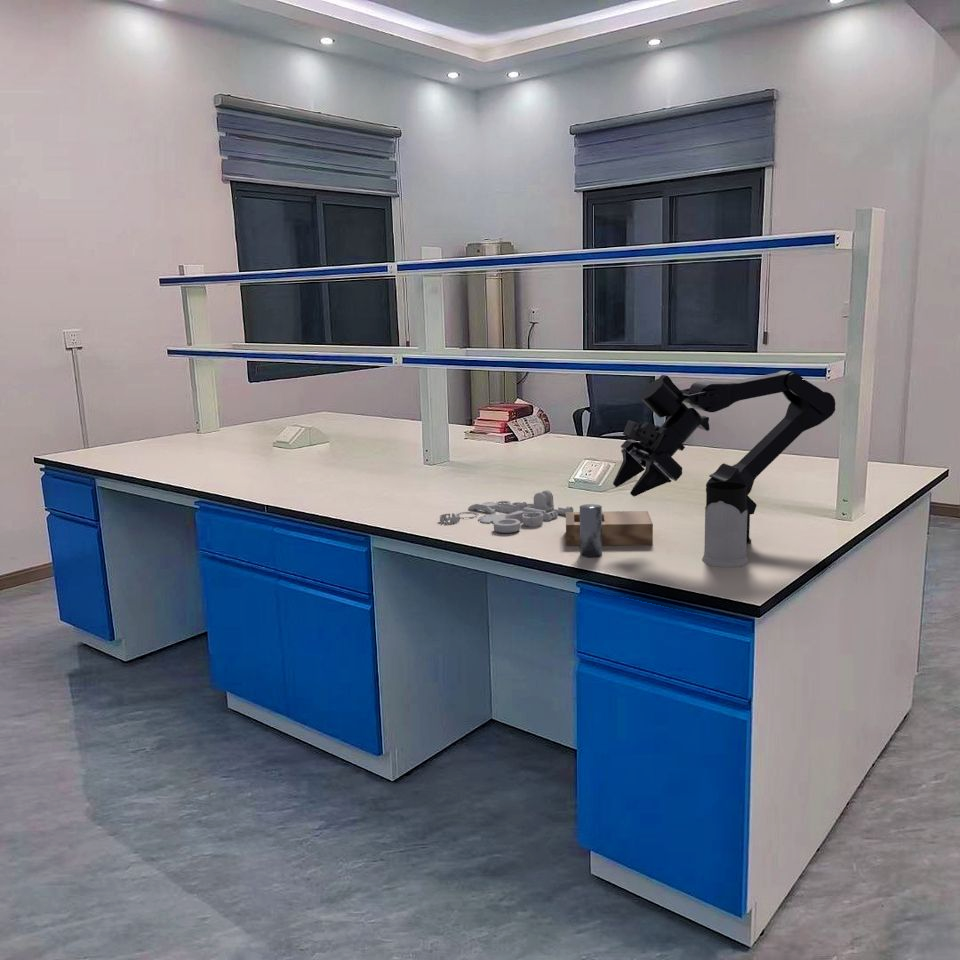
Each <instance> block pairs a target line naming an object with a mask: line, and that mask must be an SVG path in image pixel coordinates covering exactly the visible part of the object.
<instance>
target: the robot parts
mask: <svg viewBox="0 0 960 960" xmlns="http://www.w3.org/2000/svg"><path fill="white" fill-rule="evenodd" d="M501 502H503V503H501ZM505 502H506V503H505ZM554 505H555V503H554V495H553V494H552V491H550V490H547V489H546V490H543V491H542V492H537V493H535V494H534V496H533V503H528V502H525V501H523V502H520V501H519V502H518V501H517V502H511V501H508V500H501V501H496V502H494V501H493V502H492V501H489V502H482V503H481V504H480V503H474V504H472V505H470V506H469V507H468V509H470V510H469V511H463V512H458V513H443V514H441V515H440V516H439V522H440V523H439V524H442V523H443V524H444V525H454V524H453V523H455V524H458V523H460V522H459V521H461V519H460V518H463V519H462V520H465V519H464V518H469V519H475V518H474V517H476V518H477V521H478V522H479V521H480V522H479V523H481V524H485V523H487V525H490V524H492V525H493V531H495V532H497V533H500V534H510V533H516V532H518V531H520V529H521V523H522V525H523V526H524V527H529V528H535V527H540V526H543V525H544V522H543V521H548V522H549V521H550V522H551V521H552V520H555V519H558V517H559V515H562V516H566V512H574V508H573V506H569V505H568V506H566V507H557V509H555V506H554ZM475 510H476V511H483V512H484V513H487V514H485V515H481V516H478V517H477V515H479V513H477V512H474V511H475ZM496 510H497V512H501V513H499V514H497V513H496ZM502 512H503V513H502ZM507 512H508V514H505V513H507ZM461 513H466V514H470V513H474V514H473V516H468V517H466V516H465V517H462V516H460V515H462V514H461ZM489 513H490V514H489ZM494 513H495V514H494ZM475 514H476V515H475ZM457 522H458V523H457Z"/></svg>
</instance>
